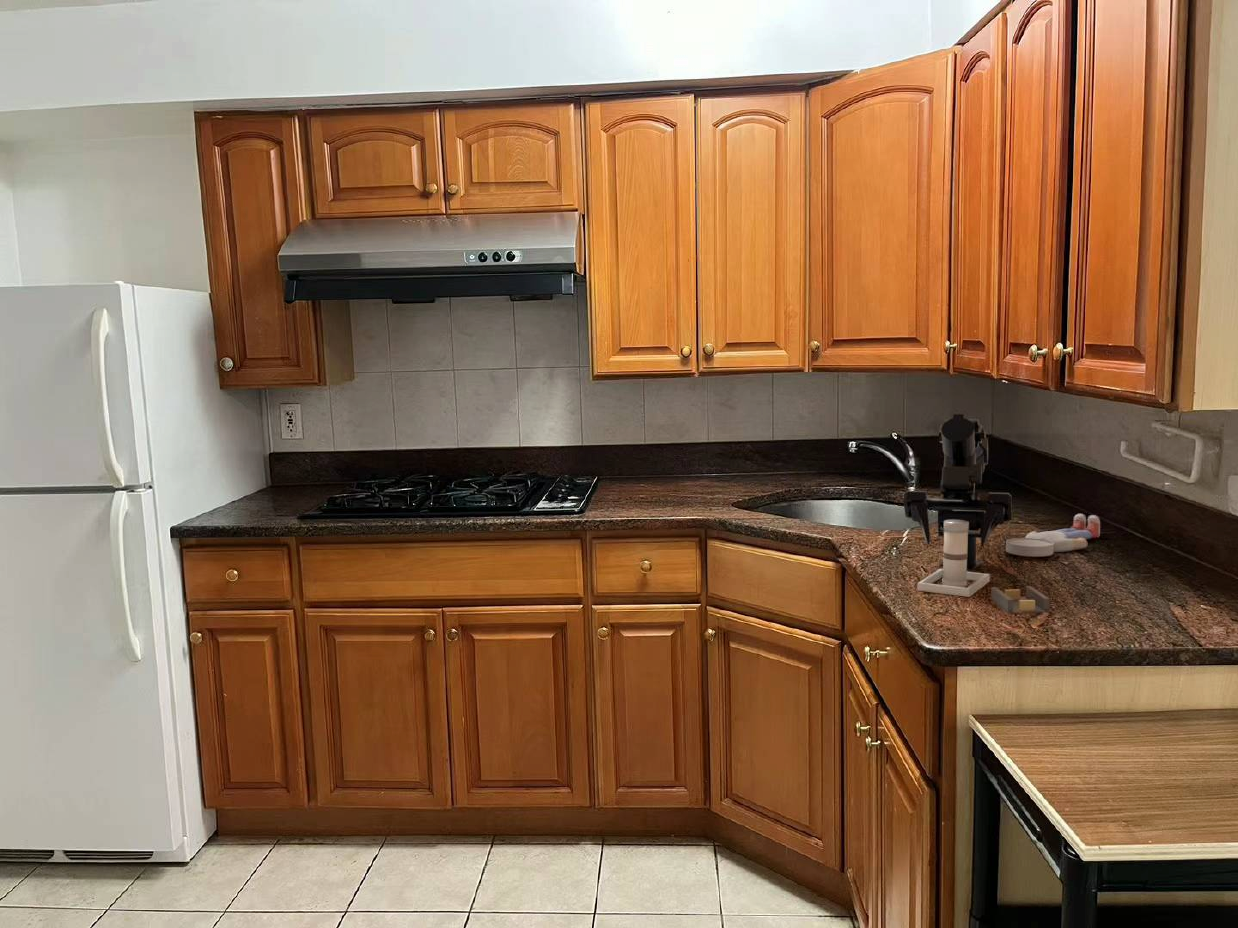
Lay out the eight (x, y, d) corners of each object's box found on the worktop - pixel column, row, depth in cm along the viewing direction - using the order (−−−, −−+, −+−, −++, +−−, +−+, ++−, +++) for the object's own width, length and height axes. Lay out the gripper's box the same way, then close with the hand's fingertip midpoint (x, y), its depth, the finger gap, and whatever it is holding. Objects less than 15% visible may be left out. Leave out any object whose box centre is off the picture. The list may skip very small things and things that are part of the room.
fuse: (952, 583, 176) (954, 518, 174) (971, 588, 173) (973, 522, 171) (937, 586, 174) (938, 521, 172) (956, 591, 170) (958, 525, 169)
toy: (1059, 510, 219) (989, 527, 200) (1116, 517, 209) (1049, 536, 190) (1058, 535, 220) (989, 555, 201) (1115, 543, 210) (1048, 564, 191)
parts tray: (940, 581, 181) (940, 568, 181) (989, 587, 176) (989, 574, 175) (917, 596, 171) (917, 583, 171) (969, 603, 166) (969, 589, 166)
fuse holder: (988, 604, 165) (989, 586, 164) (1030, 603, 164) (1030, 585, 164) (1007, 619, 156) (1007, 600, 155) (1051, 618, 155) (1052, 599, 155)
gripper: (904, 448, 180) (897, 517, 172) (1012, 448, 173) (1010, 521, 164) (909, 482, 188) (902, 550, 180) (1012, 484, 181) (1010, 555, 173)
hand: (954, 544), depth 174 cm, fingers open, 9 cm apart
